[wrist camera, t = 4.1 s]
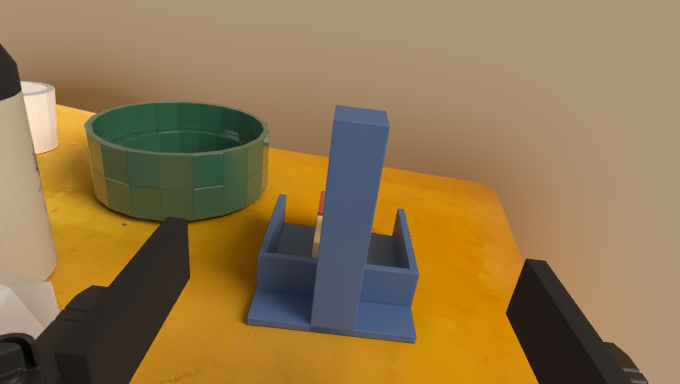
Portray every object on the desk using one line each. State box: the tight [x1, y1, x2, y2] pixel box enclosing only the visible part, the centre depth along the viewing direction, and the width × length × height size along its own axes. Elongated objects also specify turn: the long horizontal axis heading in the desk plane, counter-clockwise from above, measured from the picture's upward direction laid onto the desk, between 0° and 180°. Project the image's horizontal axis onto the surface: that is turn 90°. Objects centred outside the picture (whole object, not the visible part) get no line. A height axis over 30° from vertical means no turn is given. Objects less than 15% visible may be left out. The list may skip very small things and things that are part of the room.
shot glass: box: [20, 82, 59, 154], centre depth 48 cm, size 7×7×7 cm
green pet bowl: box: [84, 101, 269, 221], centre depth 44 cm, size 17×17×7 cm
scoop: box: [247, 105, 419, 343], centre depth 31 cm, size 13×12×15 cm
